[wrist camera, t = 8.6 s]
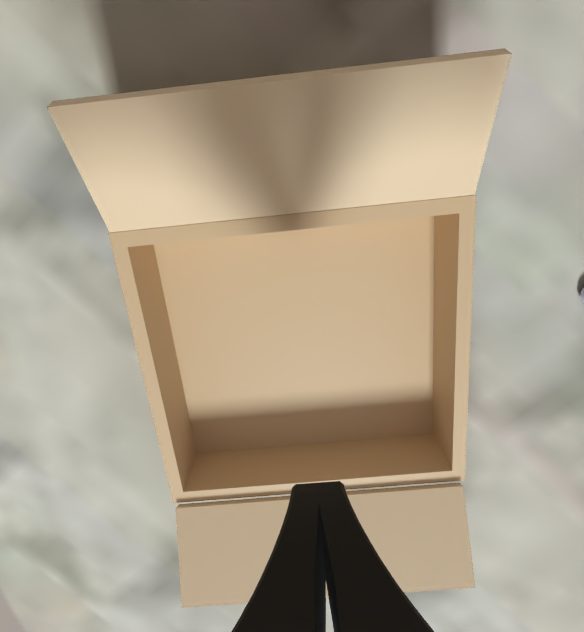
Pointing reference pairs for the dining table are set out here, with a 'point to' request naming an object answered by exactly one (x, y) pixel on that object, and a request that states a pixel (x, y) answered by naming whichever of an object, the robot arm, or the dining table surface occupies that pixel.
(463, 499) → the far flap
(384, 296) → the carton
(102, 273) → the dining table surface
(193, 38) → the dining table surface
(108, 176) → the near flap
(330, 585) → the robot arm
